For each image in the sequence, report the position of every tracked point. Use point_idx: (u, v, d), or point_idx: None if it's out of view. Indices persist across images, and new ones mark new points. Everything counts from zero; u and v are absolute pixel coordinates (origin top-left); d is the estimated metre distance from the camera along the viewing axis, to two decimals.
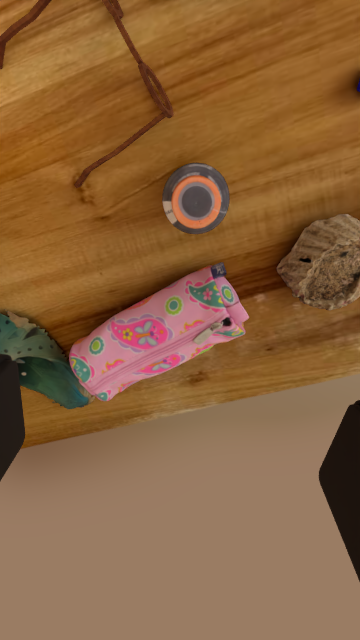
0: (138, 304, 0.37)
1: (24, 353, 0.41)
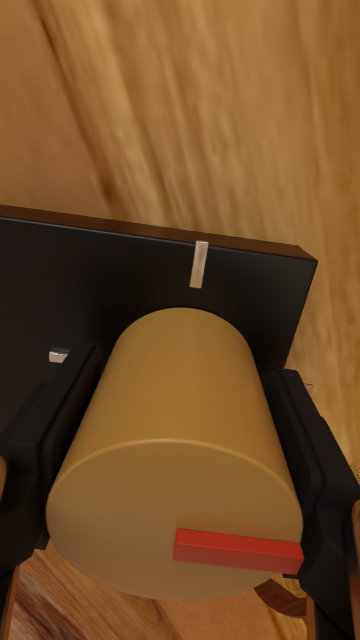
0: None
1: None
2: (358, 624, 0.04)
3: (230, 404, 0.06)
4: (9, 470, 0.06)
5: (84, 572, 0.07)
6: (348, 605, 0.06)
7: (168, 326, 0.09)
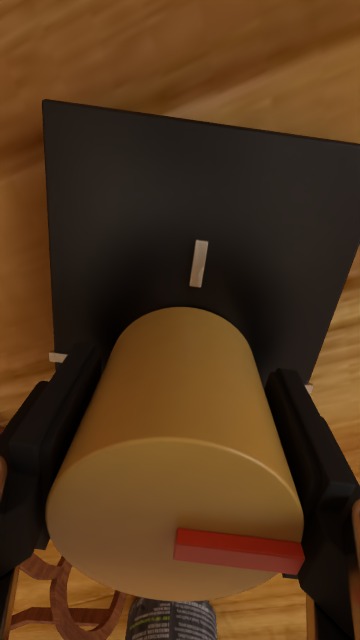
0: None
1: None
2: (358, 624, 0.04)
3: (231, 403, 0.06)
4: (9, 470, 0.06)
5: (83, 572, 0.07)
6: (348, 605, 0.06)
7: (169, 325, 0.09)
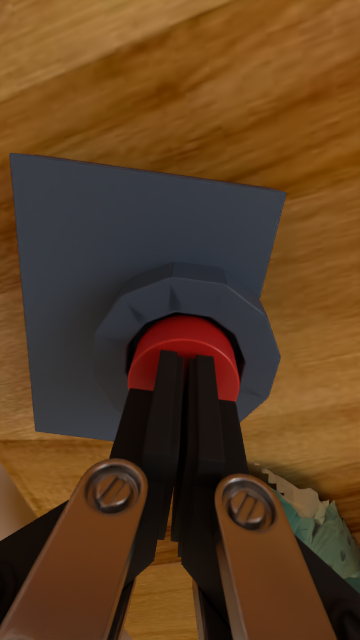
0: None
1: None
2: (233, 622, 0.04)
3: None
4: None
5: None
6: (213, 578, 0.06)
7: None
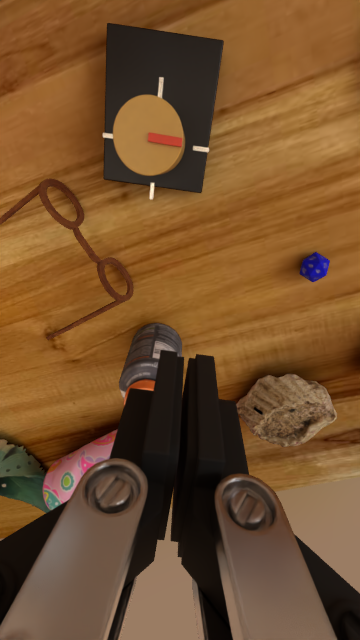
0: (106, 440, 0.40)
1: (3, 474, 0.44)
2: (233, 622, 0.04)
3: None
4: None
5: (121, 159, 0.23)
6: (213, 578, 0.06)
7: None
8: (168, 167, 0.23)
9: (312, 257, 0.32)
